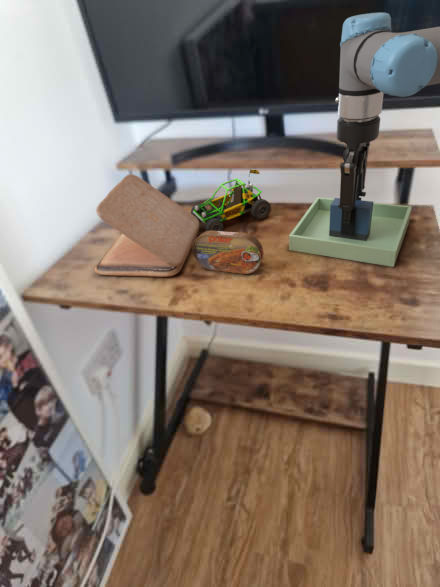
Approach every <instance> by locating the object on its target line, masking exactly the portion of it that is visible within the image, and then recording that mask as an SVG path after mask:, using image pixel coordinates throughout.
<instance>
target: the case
mask: <svg viewBox="0 0 440 587" xmlns="http://www.w3.org/2000/svg"><path fill="white" fill-rule="evenodd" d="M95 211H96V214H97V216H98V217H99V219H101V220H102V221H104V223H105V224H108V225H109V226H111V228H114V229H115V230H116V231H117V232H119V233H120V235H118V237H117V238H116V239H115V240H114V242H113V243H112V245H111V246H110V248H108V249H107V251H106V253H105V254H104V255H103V256H102V258H101V259H100V260H99V261H98V263H97V264H96V266H95V267H94V272H95V273H96V274H97V275H99V276H119V277H120V276H124V277H125V276H126V277H127V276H128V277H129V276H130V277H156V278H158V277H161V278H168V277H173V276H176V275H178V274H179V273H180V272H181V269H182V268H183V266H184V263H185V261H186V259H187V257H188V256H189V253H190V251H191V250H192V246H193V242H194V241H195V239H196V238H197V237H198V235H199V229H200V226H201V224H200V221H199V220H198V219H197V218H196V217H195V216H194V215H193V214H191V211H188V210H187V209H185V208H184V207H183V206H181V205H179V204H178V203H177V202H176V201H174V200H173V199H171V198H170V197H168V196H167V195H166V194H164V193H162V192H161V191H159V190H158V189H157V188H155V187H154V186H153V185H152V184H150V183H149V182H147V181H145V180H144V179H143V178H141V177H140V176H138V175H135V174H127V175H126V176H124V177H123V178H122V179H121V181H120V182H118V183H117V184H116V185H115V186H114V187H112V189H111V190H110V191H109V192H108V193H107V195H106V196H105V197H104V198H103V199H102V200H101V201H100V203H99V204H98V205H97V206H96V210H95Z"/></svg>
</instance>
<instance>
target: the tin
mask: <svg viewBox="0 0 440 587" xmlns="http://www.w3.org/2000/svg"><path fill="white" fill-rule="evenodd" d="M191 250H192V255H193V257H194V259H195V261H196V262H197V264H199V265H200V266H201V267H202V268H204V269H206V270H209V271H212V272H213V271H215V272H224V273H233V274H239V275H240V274H241V275H248V274H249V275H250V274H253V273H255V272H256V271H257V270H258V269H259V268H260V266H261V264H262V261H263V259H264V253H265V252H264V248H263V245H262V243H261V241H259V239H258V238H256V236H254V235H252V234H250V233H247V232H239V231H224V230H223V231H206V230H205V231H203V232H202V233H201V234H200V235H199V236H197V237H196V239H195V241H194V242H193V245H192V247H191Z"/></svg>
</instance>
